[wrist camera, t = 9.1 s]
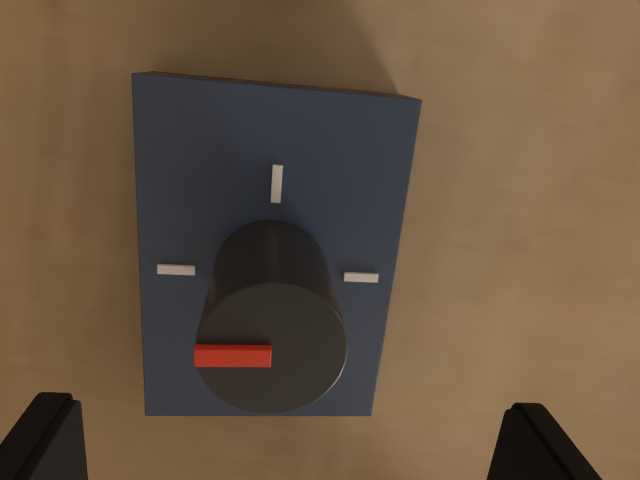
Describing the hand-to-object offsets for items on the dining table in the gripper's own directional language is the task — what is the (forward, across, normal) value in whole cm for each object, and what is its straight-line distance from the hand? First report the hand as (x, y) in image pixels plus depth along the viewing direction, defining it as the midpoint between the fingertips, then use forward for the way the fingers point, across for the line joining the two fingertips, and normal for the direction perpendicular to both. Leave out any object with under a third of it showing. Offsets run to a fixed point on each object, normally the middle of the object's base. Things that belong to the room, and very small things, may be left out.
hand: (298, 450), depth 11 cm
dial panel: (+12, +1, 0) cm, 12 cm away
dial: (+9, +1, 0) cm, 9 cm away
